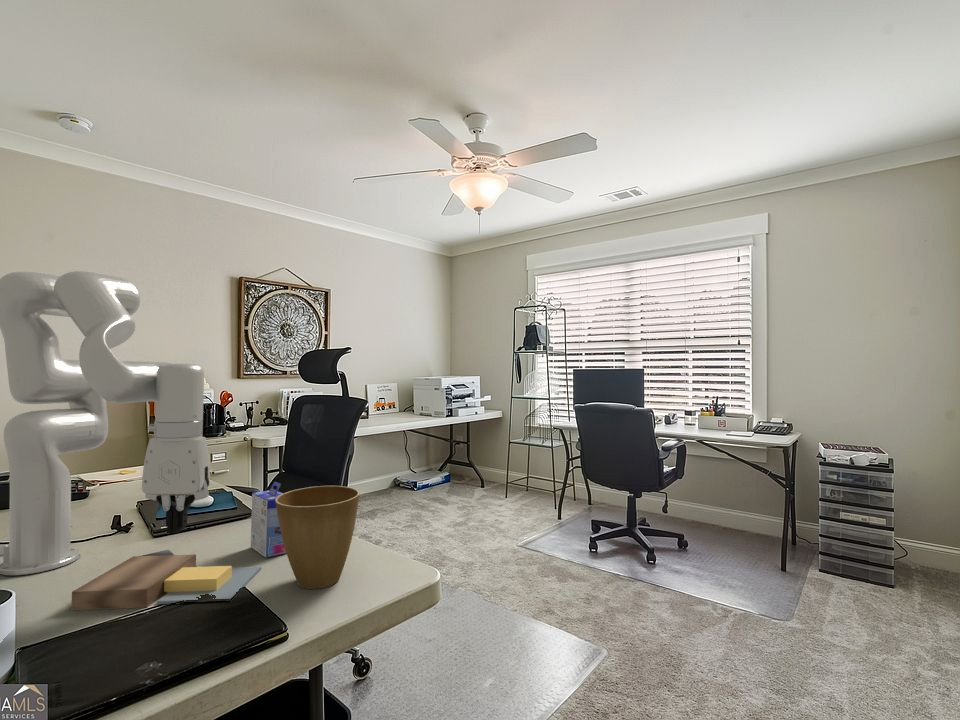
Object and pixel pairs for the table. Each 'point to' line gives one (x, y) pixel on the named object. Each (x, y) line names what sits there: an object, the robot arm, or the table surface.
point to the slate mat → (224, 592)
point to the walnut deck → (130, 583)
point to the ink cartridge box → (266, 523)
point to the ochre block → (198, 579)
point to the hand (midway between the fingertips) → (176, 530)
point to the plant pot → (317, 531)
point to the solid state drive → (160, 553)
